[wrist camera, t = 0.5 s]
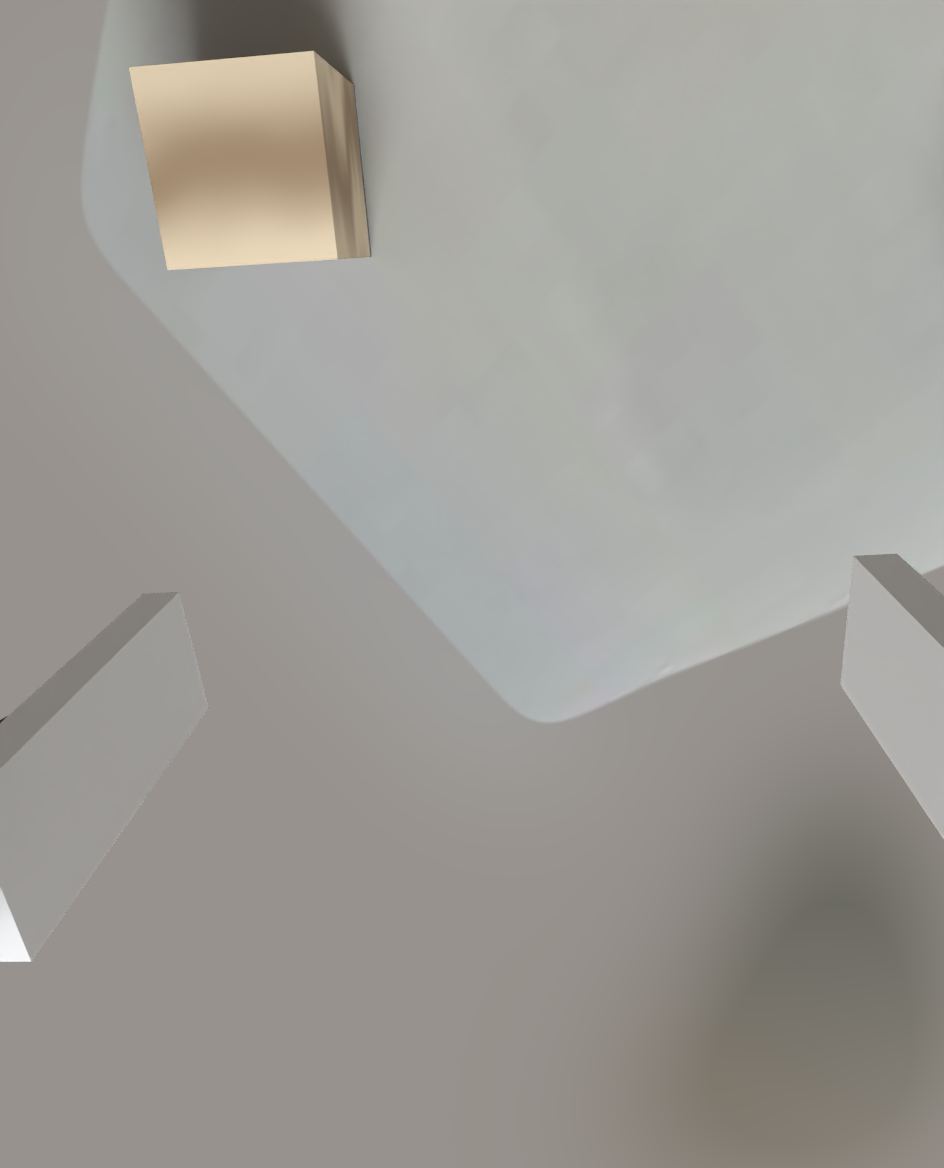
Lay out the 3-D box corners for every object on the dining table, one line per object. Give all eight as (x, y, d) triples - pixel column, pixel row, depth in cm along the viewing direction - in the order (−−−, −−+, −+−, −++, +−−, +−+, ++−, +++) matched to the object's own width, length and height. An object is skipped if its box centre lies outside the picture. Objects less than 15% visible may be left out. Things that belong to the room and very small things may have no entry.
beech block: (201, 99, 36) (128, 67, 30) (354, 85, 36) (313, 50, 29) (229, 265, 39) (167, 270, 32) (371, 256, 38) (337, 259, 32)
